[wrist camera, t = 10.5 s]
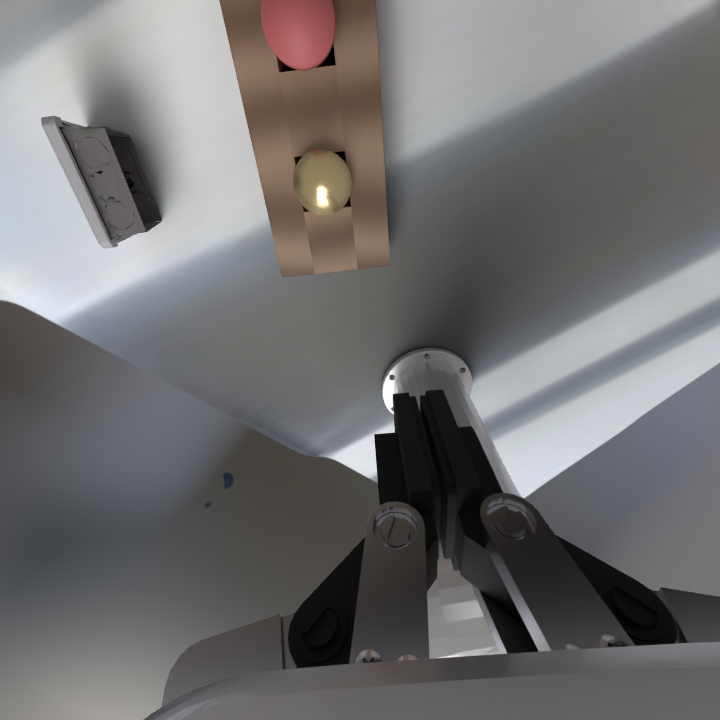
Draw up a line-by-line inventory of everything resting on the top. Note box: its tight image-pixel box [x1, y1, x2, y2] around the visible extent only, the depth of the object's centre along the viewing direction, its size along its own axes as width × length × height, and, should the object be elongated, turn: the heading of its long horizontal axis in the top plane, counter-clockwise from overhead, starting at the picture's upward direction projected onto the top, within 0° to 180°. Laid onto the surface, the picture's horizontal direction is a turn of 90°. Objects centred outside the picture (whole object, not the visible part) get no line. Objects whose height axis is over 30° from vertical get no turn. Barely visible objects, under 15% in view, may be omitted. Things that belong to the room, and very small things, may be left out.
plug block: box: [220, 0, 390, 277], centre depth 29 cm, size 26×11×5 cm, turn 6°
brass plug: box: [293, 149, 352, 215], centre depth 31 cm, size 5×5×6 cm
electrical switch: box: [41, 116, 162, 248], centre depth 30 cm, size 9×5×9 cm, turn 5°
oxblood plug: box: [261, 0, 335, 71], centre depth 25 cm, size 5×5×6 cm
